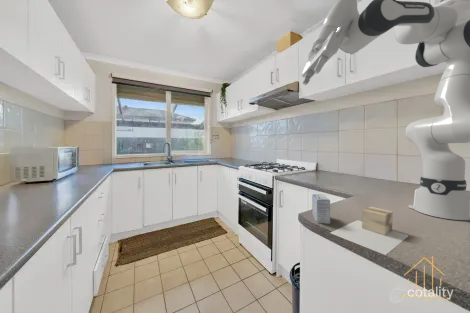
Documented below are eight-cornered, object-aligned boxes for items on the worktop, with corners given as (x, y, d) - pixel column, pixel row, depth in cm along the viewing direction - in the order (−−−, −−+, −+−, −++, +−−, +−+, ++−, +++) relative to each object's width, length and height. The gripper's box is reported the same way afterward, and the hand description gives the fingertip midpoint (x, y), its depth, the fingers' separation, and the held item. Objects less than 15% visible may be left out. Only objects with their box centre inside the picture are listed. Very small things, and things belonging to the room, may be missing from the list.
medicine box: (330, 224, 63) (330, 199, 62) (316, 223, 64) (317, 199, 63) (324, 216, 71) (324, 194, 70) (311, 215, 71) (312, 193, 71)
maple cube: (370, 223, 62) (370, 206, 62) (392, 230, 57) (392, 211, 57) (362, 228, 59) (362, 209, 59) (384, 235, 54) (385, 215, 54)
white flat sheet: (357, 220, 66) (357, 220, 66) (409, 236, 54) (409, 235, 54) (329, 233, 56) (329, 232, 56) (385, 255, 44) (385, 255, 44)
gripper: (354, 26, 54) (334, 67, 54) (321, 62, 75) (306, 92, 75) (335, 17, 54) (315, 58, 54) (307, 55, 75) (293, 85, 75)
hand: (310, 78), depth 65 cm, fingers open, 8 cm apart
